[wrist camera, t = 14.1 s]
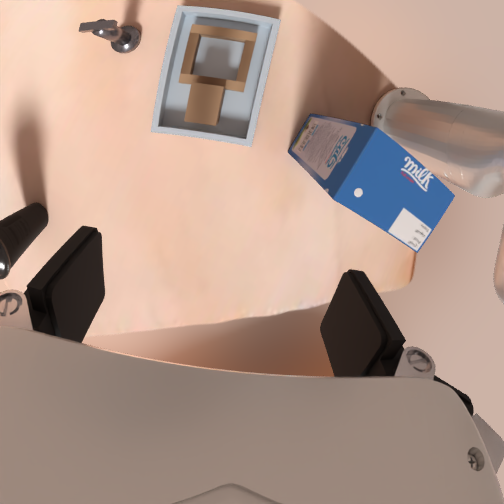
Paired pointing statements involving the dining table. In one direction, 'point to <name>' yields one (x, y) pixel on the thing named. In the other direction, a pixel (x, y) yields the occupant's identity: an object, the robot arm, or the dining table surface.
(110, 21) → the gray bar-topped pedestal
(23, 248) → the drinking cup
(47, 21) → the dining table surface
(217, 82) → the ring
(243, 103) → the tray
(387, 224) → the milk carton
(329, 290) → the dining table surface
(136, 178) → the dining table surface
